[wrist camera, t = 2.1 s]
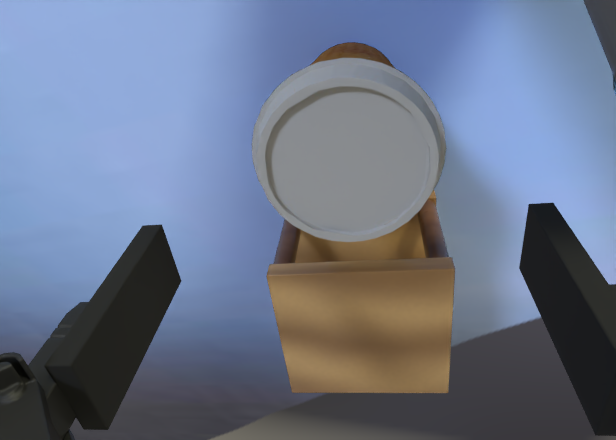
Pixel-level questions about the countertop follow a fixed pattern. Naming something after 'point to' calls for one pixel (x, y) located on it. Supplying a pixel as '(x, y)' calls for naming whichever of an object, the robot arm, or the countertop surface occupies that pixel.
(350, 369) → the oak rack
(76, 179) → the countertop surface
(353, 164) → the disposable coffee cup
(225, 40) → the countertop surface
